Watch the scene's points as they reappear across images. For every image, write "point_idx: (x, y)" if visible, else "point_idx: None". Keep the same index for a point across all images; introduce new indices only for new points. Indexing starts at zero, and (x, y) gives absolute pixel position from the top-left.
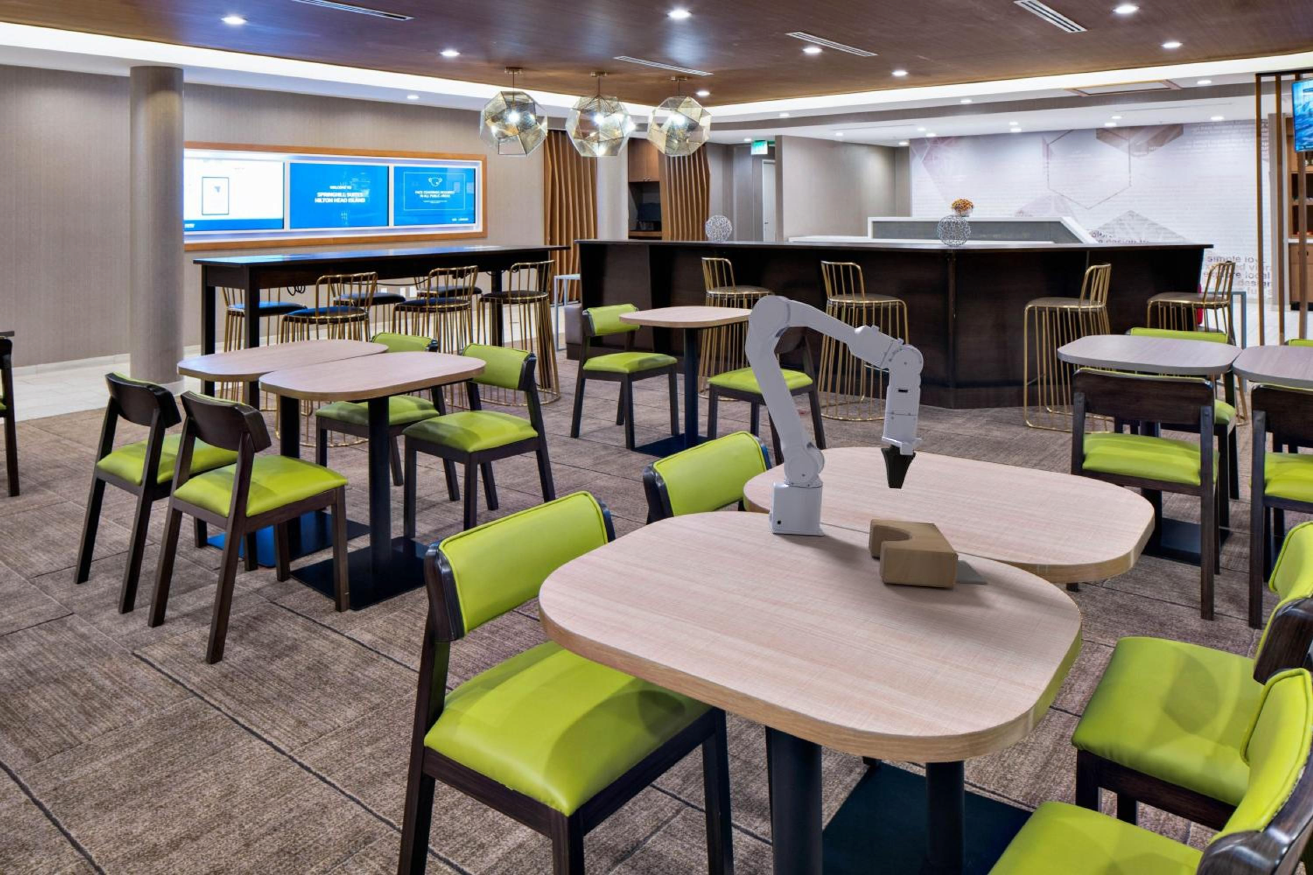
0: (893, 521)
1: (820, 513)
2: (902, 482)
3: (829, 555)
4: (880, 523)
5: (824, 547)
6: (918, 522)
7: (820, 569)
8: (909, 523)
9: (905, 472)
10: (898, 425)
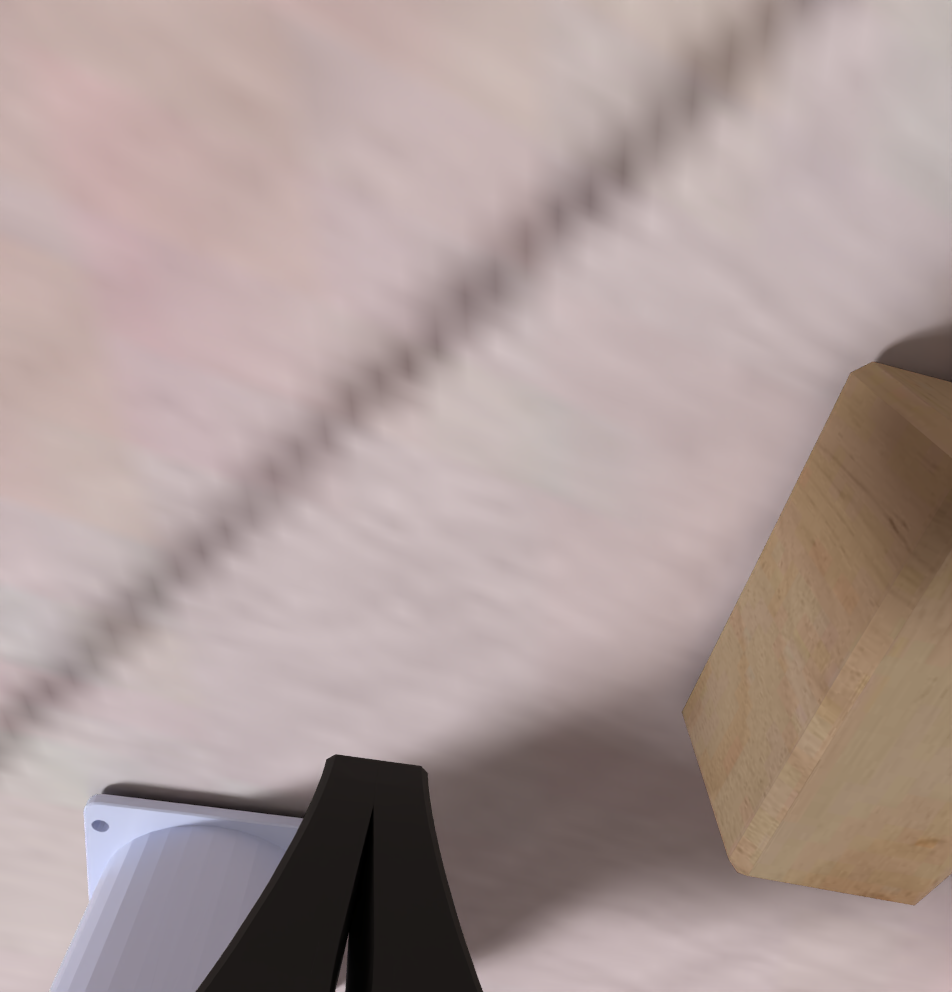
0: (850, 777)
1: (221, 925)
2: (434, 837)
3: (723, 879)
4: (889, 871)
5: (572, 864)
6: (925, 607)
7: (936, 957)
8: (942, 690)
9: (470, 979)
10: None
